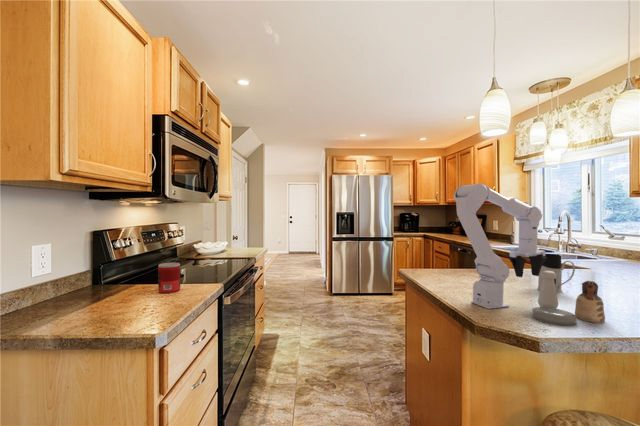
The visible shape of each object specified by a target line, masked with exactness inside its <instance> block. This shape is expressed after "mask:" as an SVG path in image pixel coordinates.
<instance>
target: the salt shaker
mask: <svg viewBox="0 0 640 426" xmlns="http://www.w3.org/2000/svg"><path fill="white" fill-rule="evenodd" d="M541 277H542V278H543V280H542V285H541V289H540V290H539V294H538V297H537V304H538V305H539V306H538V307H547V308H555V309H558V307H559V300H558V295H557V294H558V293H556V288H555V282H554V279H556V273H555V272H552V271H542V272H541Z"/></svg>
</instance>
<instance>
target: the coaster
mask: <svg viewBox="0 0 640 426" xmlns="http://www.w3.org/2000/svg"><path fill="white" fill-rule="evenodd" d="M531 311H532V312H531V314H532V315H531V316H532V318H534V319H535V320H537V321H540V322H543V323H546V324H549V325H550V324H551V325H556V326H564V327H565V326H567V327H571V326H575V325H577V317H576V315H575V313H572V312H570V311H567V310H564V309H560V308H559V309H558V308H556V309H555V308H547V307H540V306H537V307H533V308H532V310H531Z"/></svg>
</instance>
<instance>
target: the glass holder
mask: <svg viewBox="0 0 640 426" xmlns="http://www.w3.org/2000/svg"><path fill="white" fill-rule="evenodd" d="M543 257H546V261H545V262H544V263H543V265H542V267H541V270H540V273H539V276H537V277H538V279H537V280H538V281H537V288H536V289H537V290H538V291H540V289H541V285H542V280H543V278H542V277H541V272H542V271H552V272H555V273H556V279H554V282H555V288H556V293H557V294H562V293H563V290H562V286H563V285H565V284H567V283H568V282H569V281H571V280H572V278H573V277H574V275H575V271H576V270H575V269H576V268H575V267H576V266H575V263H574V262H573V261H571V260H565V261H564V262H563V263H562V255H560V254H557V253H556V254H553V253H545V256H543ZM566 263H570V264H571V265H572V272H571V275H570V277H569V279H567V280H565V281H564V282H562V277H563V276H562V272H563V271H564V270H565V264H566Z"/></svg>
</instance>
